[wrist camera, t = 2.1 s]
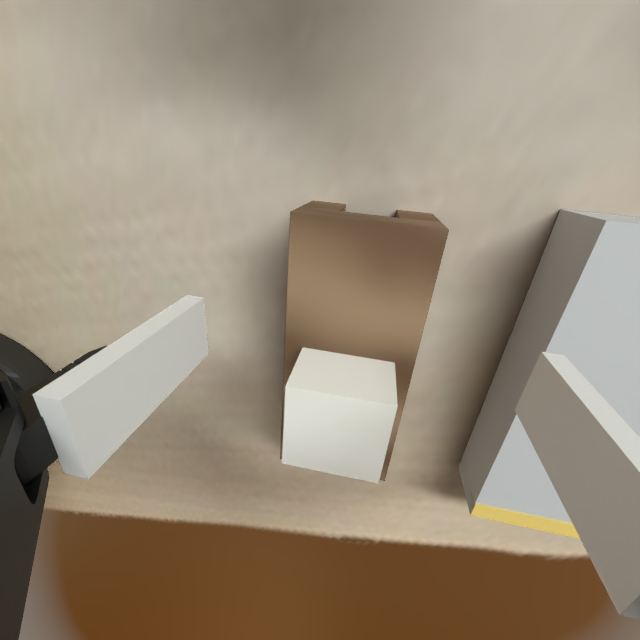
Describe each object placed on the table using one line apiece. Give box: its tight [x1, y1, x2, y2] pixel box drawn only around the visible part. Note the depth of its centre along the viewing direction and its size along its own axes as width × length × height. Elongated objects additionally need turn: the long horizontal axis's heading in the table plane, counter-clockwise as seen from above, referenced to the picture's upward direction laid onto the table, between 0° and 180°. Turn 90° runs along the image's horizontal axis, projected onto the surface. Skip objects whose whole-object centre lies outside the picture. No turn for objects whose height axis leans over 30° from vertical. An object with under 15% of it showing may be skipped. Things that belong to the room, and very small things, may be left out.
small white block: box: [282, 347, 398, 484], centre depth 17 cm, size 5×5×4 cm
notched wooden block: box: [280, 201, 449, 481], centre depth 20 cm, size 16×7×6 cm, turn 175°
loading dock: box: [458, 209, 640, 539], centre depth 19 cm, size 14×20×4 cm
